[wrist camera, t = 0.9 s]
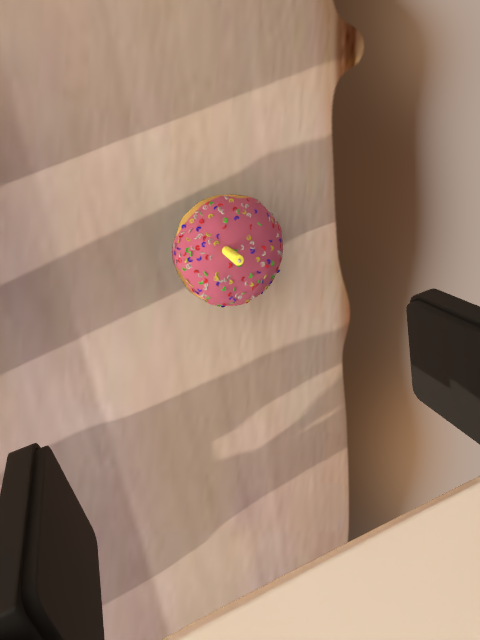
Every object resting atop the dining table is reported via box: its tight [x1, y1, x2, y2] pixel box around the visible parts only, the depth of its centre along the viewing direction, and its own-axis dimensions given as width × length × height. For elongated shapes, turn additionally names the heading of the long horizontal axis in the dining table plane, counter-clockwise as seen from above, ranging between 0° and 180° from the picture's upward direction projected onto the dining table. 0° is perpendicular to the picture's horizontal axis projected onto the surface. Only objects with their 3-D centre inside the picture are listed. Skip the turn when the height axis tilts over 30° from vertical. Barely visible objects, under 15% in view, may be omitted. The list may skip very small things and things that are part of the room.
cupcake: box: [172, 195, 283, 307], centre depth 33 cm, size 9×8×12 cm
